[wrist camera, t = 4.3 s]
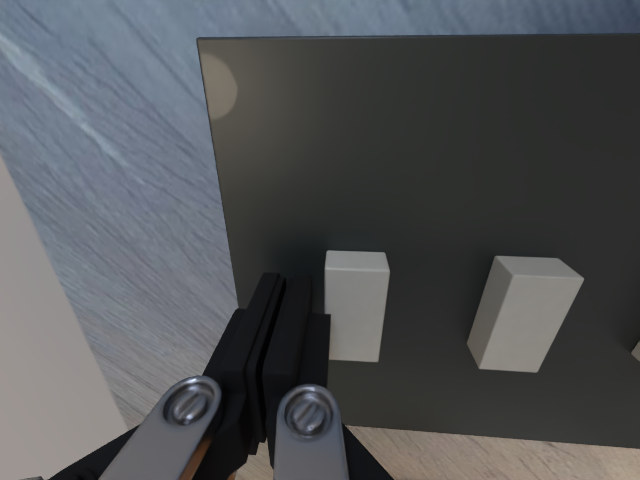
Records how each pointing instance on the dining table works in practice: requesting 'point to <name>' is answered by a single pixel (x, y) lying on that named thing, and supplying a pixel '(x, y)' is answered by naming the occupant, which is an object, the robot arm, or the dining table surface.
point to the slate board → (445, 209)
